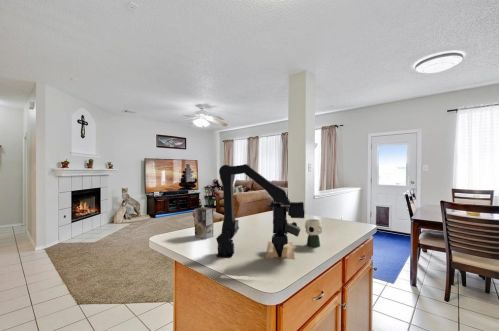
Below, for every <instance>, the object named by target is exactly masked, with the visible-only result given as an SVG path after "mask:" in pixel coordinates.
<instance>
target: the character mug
mask: <svg viewBox="0 0 499 331" xmlns="http://www.w3.org/2000/svg"><path fill="white" fill-rule="evenodd" d="M304 228H305V233H306V234H307V241H306V246H309V248H320V247H321V241H320V236H319V235H321V234H322V233H323V226H322V221H321V220H320V219H315V218H307V219H305V222H304Z"/></svg>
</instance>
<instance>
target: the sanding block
mask: <svg viewBox="0 0 499 331" xmlns="http://www.w3.org/2000/svg"><path fill="white" fill-rule="evenodd" d="M273 257H278V254H277V252H276V249H275V247H274V245H273ZM278 258H287V245H284V246H283V251H282V256H281V257H278Z"/></svg>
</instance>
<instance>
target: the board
mask: <svg viewBox="0 0 499 331" xmlns="http://www.w3.org/2000/svg"><path fill="white" fill-rule="evenodd" d="M285 245H287V258H278V257H273V244H272V241H268V243H267V247H266V252H265V259H279V260H280V259H282V260H296V258H295V252H294V246H293V242H289V241H288V244H285Z"/></svg>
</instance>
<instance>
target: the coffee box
mask: <svg viewBox="0 0 499 331" xmlns="http://www.w3.org/2000/svg"><path fill="white" fill-rule="evenodd" d="M194 237H195V238H200V239H204V240H207V239H210V238H213V237H214V208H213V207H204V206H201V207H197V208H194Z"/></svg>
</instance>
